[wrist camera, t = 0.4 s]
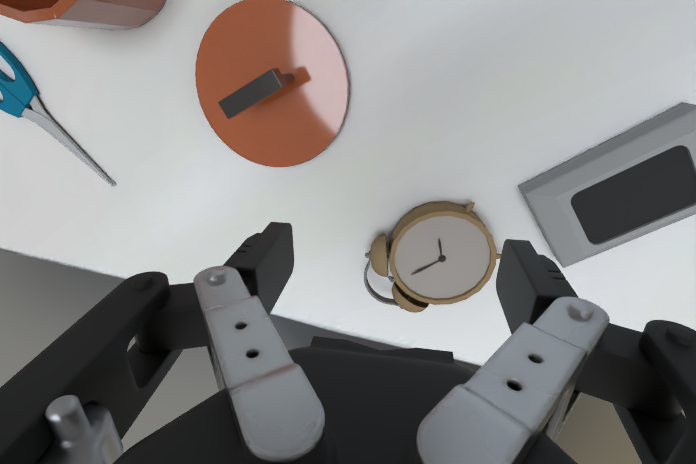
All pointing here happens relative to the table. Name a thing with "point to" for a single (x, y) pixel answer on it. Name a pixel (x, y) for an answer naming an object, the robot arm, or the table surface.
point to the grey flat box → (618, 188)
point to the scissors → (34, 107)
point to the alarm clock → (434, 256)
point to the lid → (272, 82)
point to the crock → (83, 12)
